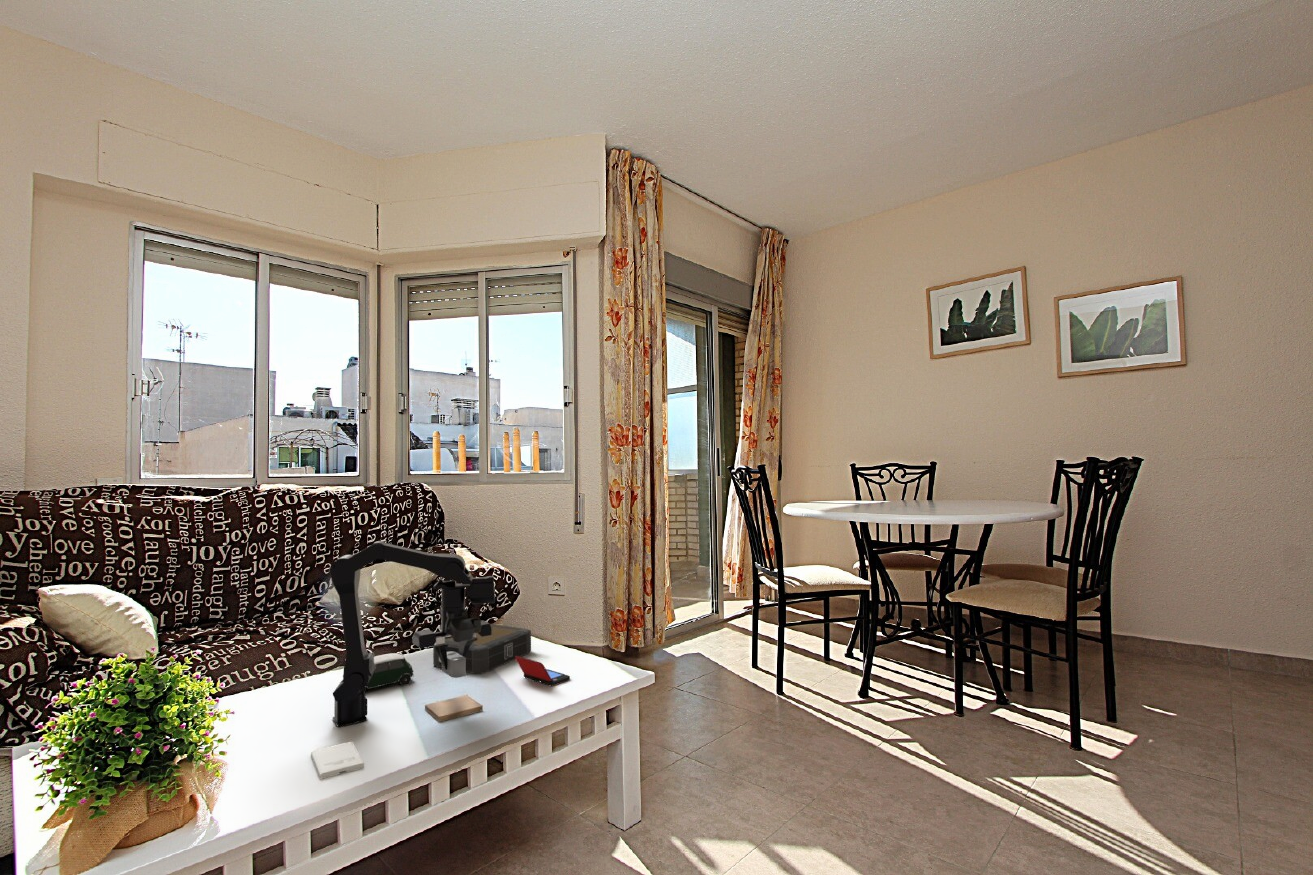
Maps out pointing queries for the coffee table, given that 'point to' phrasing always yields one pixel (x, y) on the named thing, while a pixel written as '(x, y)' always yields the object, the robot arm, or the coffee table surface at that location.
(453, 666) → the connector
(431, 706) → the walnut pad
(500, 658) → the cash box
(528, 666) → the handheld game console
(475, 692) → the coffee table surface
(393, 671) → the miniature car
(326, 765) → the external hard drive
